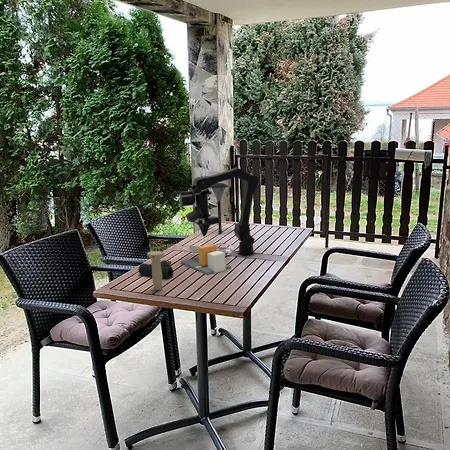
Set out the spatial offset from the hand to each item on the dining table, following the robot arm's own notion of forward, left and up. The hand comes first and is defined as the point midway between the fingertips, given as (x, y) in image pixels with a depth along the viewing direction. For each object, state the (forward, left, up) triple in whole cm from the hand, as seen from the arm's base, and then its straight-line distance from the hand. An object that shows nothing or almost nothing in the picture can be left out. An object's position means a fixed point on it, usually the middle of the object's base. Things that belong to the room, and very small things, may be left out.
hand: (204, 236), depth 213 cm
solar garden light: (-35, -37, -12) cm, 52 cm away
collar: (+6, +11, -10) cm, 15 cm away
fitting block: (+6, +17, -12) cm, 22 cm away
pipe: (+6, +7, -7) cm, 11 cm away
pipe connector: (+27, +4, -12) cm, 29 cm away
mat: (+6, +8, -12) cm, 15 cm away
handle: (+37, +20, -12) cm, 43 cm away
